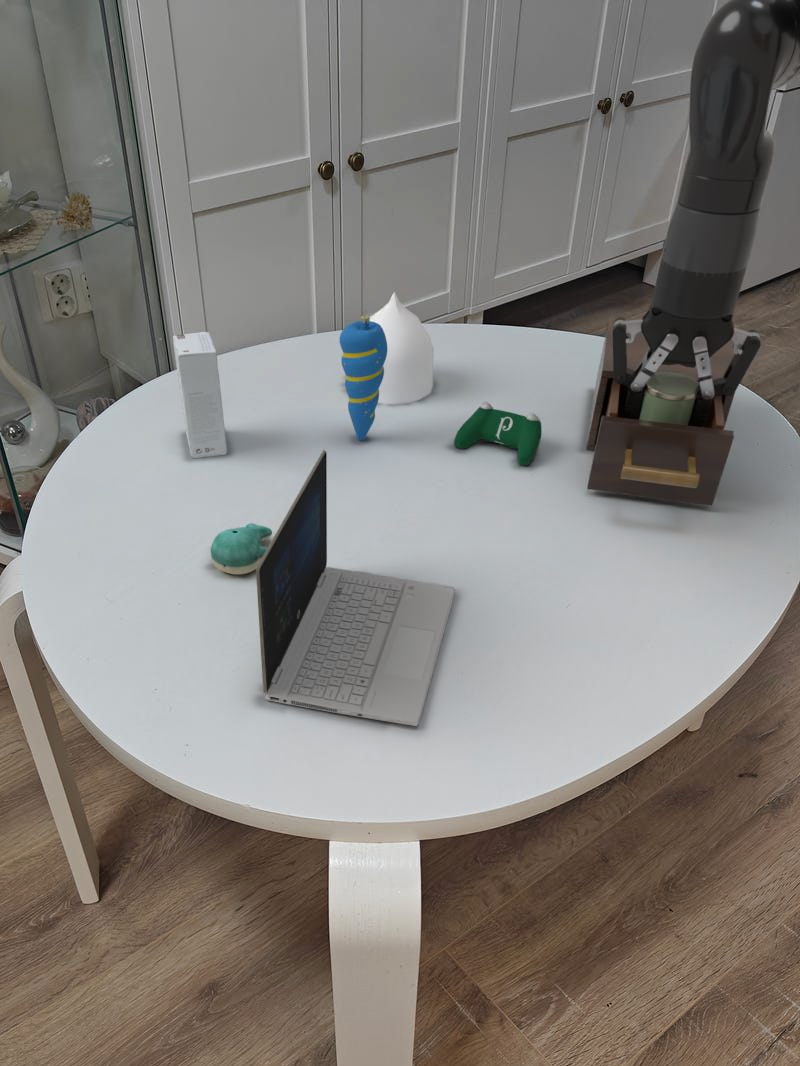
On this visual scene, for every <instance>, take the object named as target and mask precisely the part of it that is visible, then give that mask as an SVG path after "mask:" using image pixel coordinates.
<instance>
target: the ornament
mask: <svg viewBox="0 0 800 1066" xmlns="http://www.w3.org/2000/svg"><path fill="white" fill-rule="evenodd" d="M366 312H367V309H365V310H364V314H363V315H361V316H360V320H358V321H353V322H351V323H349V324H348V325H347V326H345V327H344V328H343V329H342V331H341V332H340V334H339V345H340V348H341V351H342V355H341V359H340V360H341V366H342V369H343V371H344V374H345V381H344V386H345V390H346V394H347V397H348V403H347V408H348V409H347V410H348V414H349V417H350V421H351V423H352V426H353V429H354V430H353V431H354V432H355V437H356V439H357V441H358V442H363V441H365V439H366V437H367V435H368V433H369V431H370V429H371V428H372V426H373V424H374V422H375V418H376V408H377V406H378V404H379V403H378V399H379V387H380V385H381V382H382V380H383V377H384V367H383V365H384V362H385V360H386V356H387V341H386V336H385V333H384V331H383V329H382V327H381V326H380V325H379V324H378V323H375V322H372V321H370V317H371V316H370V315H368V314H366Z"/></svg>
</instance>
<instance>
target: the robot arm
mask: <svg viewBox="0 0 800 1066" xmlns="http://www.w3.org/2000/svg"><path fill="white" fill-rule="evenodd" d="M690 71H691V72H690V81H689V82H690V84H689V109H688V110H689V113H688V133H689V148H688V149H689V151H688V154H687V157H686V162H685V163H684V168H683V174H682V178H681V181H680V186H679V191H678V195H677V200H676V203H675V207H674V210H673V213H672V215H671V218H670V220H669V223H668V227H667V231H666V235H665V238H664V240H663V243H662V254H661V258H660V262H659V266H658V271H657V274H656V275H657V276H656V280H655V284H654V288H653V292H652V298H651V301H650V306H649V308H648V310H647V311H646V313H645V314H644V315H643V316H642V318H639V319H631V320H628V321H626V319H627V318H625V317H624V316H618V317H616V318H617V319H615V321H614V326H613V378H614V382H615V383H616V384H623V385H625V386H627V387H628V389H629V390H628V395H627V399H626V404H625V408H624V416H625V418H628V419H636V420H637V418H638V414H639V410H640V406H641V401H642V397H643V390H644V386H645V384H646V383H647V382H648V380H649V379H650V377H651V376H652V375H654V374H655V372H656V371H657V370H658V368H659V367H660V365H661V364H662V365H675V364H680V365H683V366H685V367H692V368H695V366H697V372H698V378H699V383H700V391H699V394H698V395H697V398H696V402H695V405H694V409H693V412H692V416H691V419H690V423H689V426H696V427H702V426H703V425H704V424H705V421H706V418H707V414H708V411H709V407H710V404H711V401H712V399H713V398H714V397H716V396H720V395H725V396H731V395H733V394H734V393H735V394H736V391H737V389H738V387H739V386H740V384H741V382H742V380H743V379H744V377H745V375H746V374H747V371H748V370H749V368H750V366H751V365H752V363H753V361H754V359H755V357H756V355H757V353H758V352H759V349H760V348H761V345H762V344H761V337H760V333H759V331H758V330H756V329H749V330H748V331H747V330H744V329H741V328H736V327H735V325H734V322H733V319H734V313H735V310H736V307H737V304H738V303H737V302H738V298H739V295H740V293H741V288H742V285H743V281H744V278H745V274H746V272H747V268H748V265H749V260H750V257H751V254H752V250H753V246H754V243H755V239H756V235H757V230H758V224H759V217H760V211H761V207H762V205H763V202H764V201H763V200H764V198H765V197H764V196H765V193H766V191H767V190H766V189H767V186H768V183H769V179H770V176H771V174H772V173H771V172H772V169H773V165H774V161H775V155H776V139H775V138H774V137H775V136H774V135H773V134H772V133H770V131H768V130H766V124H767V117H768V111H769V106H770V105H769V104H770V99H771V94H772V91H773V90H776V89H780V88H782V87H784V86H786V85H788V84H790V83H791V82H793V81H794V80H797V78H798V77H800V0H727V1H726V2H724V3H723V4H722V5H721V6H720V7H718V8H717V10H716V11H715V12H714V13H713V14H712V15H711V17H710V18H709V19H708V21H707V23H706V25H705V27H704V28H703V31H702V33H701V35H700V38H699V40H698V43H697V46H696V49H695V52H694V55H693V60H692V65H691V70H690ZM638 332H642V333H643V335H644V337H645V339H646V341H647V343H648V345H649V349H648V350H647V352H646V353H645V355H644V356H643V359H642V361H641V362H640V364H639V365H638V367H637V368H636V369H635V371H634V370H632V369H629V368H627V344H631V343H632V342H633V341H634V339H635V335H636V334H637V333H638ZM730 340H731V342H732V350H733V359H732V361H731V362H730V364H729V366H728V368H727V370H726V372H725V374H724V375H723V377H722V378H718V379H713V375H712V368H711V361H710V357H711V356H712V355H713V354H715V353H716V352H717V351H718V350H719V349H720V348H722V347H723V346H724V345H725V344H726V343H727V342H728V341H730Z"/></svg>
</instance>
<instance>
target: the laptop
mask: <svg viewBox="0 0 800 1066" xmlns="http://www.w3.org/2000/svg"><path fill="white" fill-rule="evenodd" d="M327 457H328V455H327V451H326V450H325V449H323V450H322V451H321V453H320V455H319V457H318V458H317V460H316V462H315V464H314V465H313V467H312V469H311V471H310V472H309V474H308V475H307V478H306V479H305V481H304V482H303V485H302V487H301V489H300V490H299V492H298V493H297V495H296V497H295V499H294V501H293V503H292V504H291V506H290V507H289V509H288V511H287V512H286V515H285V516H284V518H283V520H282V521H281V523H280V525H279V527H278V529H277V531H276V532H275V534H274V536H273V538H272V539H271V541H270V543H269V545H268V546H267V547H268V548H267V550H266V552H265V553H264V555H263V557H262V559H261V560H260V562H259V564H258V566H257V568H256V569H255V576H256V593H257V611H258V623H259V624H258V626H259V639H260V640H259V643H260V645H259V646H260V659H261V661H260V662H261V675H262V676H261V677H262V691H263V692H262V693H263V694H265V693H266V695H265V700H266V701H270V702H276V703H279V704H285V705H290V706H296V707H301V708H307V709H311V710H319V711H323V712H330V713H336V714H340V715H347V716H353V717H358V718H363V719H364V718H365V719H371V720H375V721H376V720H377V721H383V722H388V723H396V724H400V725H407V726H414V727H418V726H419V724H420V721H421V717H422V714H423V710H424V706H425V703H426V699H427V697H428V691H429V688H430V685H431V681H432V677H433V674H434V670H435V666H436V663H437V659H438V655H439V652H440V648H441V645H442V642H443V638H444V634H445V630H446V627H447V623H448V620H449V615H450V612H451V609H452V605H453V602H454V598H455V593H456V588H455V587H453V586H449V585H443V584H436V583H430V582H425V581H418V580H417V581H416V580H412V579H406V578H398V577H393V576H386V575H381V574H373V573H368V572H363V571H362V572H361V571H355V570H348V569H341V568H338V567H337V568H336V567H329V566H327V563H328V517H327V516H328V514H327V513H328V502H327V501H328V498H327V497H328V496H327V495H328V493H327V491H328V488H327V487H328V486H327V485H328V483H327V482H328V480H327V479H328V478H327V466H328V465H327V464H328V463H327V460H328V459H327Z"/></svg>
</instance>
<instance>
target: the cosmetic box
mask: <svg viewBox="0 0 800 1066" xmlns="http://www.w3.org/2000/svg"><path fill="white" fill-rule="evenodd" d="M172 343H173V349H174V359H175V365H176V370H177V371H176V373H177V379H178V385H179V393H180V398H181V405H182V413H183V420H184V428H185V433H186V439H187V443H188V444H187V445H188V447H189V452H190V456H191V458H193V459H199V458H208V457H209V458H210V457H218V456H227V453H228V445H227V437H226V428H225V419H224V410H223V400H222V392H221V383H220V374H219V366H218V353H217V350H216V347H215V344H214V342H213V339H212V336H211V334H210V332H209V331H200V332H193V333H184V334H177V335H173V336H172Z"/></svg>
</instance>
